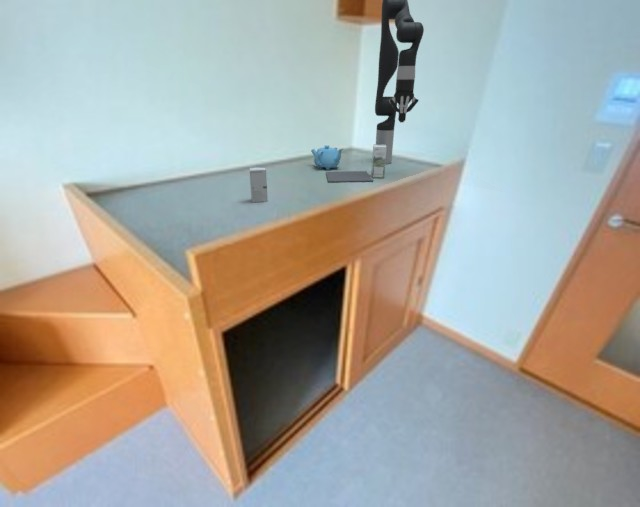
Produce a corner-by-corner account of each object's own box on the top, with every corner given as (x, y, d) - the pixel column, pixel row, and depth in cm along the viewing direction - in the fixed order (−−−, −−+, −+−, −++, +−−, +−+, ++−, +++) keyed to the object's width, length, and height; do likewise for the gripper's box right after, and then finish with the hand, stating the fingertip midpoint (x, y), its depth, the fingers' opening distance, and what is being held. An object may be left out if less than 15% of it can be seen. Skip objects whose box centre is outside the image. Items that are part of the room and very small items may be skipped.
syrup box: (383, 175, 168) (385, 144, 161) (384, 178, 163) (386, 146, 156) (371, 175, 168) (373, 143, 162) (371, 178, 163) (373, 146, 157)
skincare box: (252, 202, 132) (249, 170, 126) (251, 199, 135) (248, 167, 130) (268, 201, 133) (266, 169, 127) (267, 198, 137) (265, 166, 131)
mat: (325, 172, 173) (325, 171, 172) (366, 172, 173) (366, 171, 173) (328, 182, 156) (328, 181, 156) (372, 181, 157) (372, 180, 157)
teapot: (339, 164, 189) (339, 142, 184) (343, 170, 177) (344, 147, 172) (311, 165, 188) (310, 143, 183) (313, 171, 176) (313, 148, 171)
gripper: (418, 78, 151) (413, 121, 159) (388, 78, 151) (384, 121, 158) (423, 78, 144) (418, 122, 152) (392, 78, 144) (388, 123, 151)
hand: (401, 122), depth 155 cm, fingers closed
